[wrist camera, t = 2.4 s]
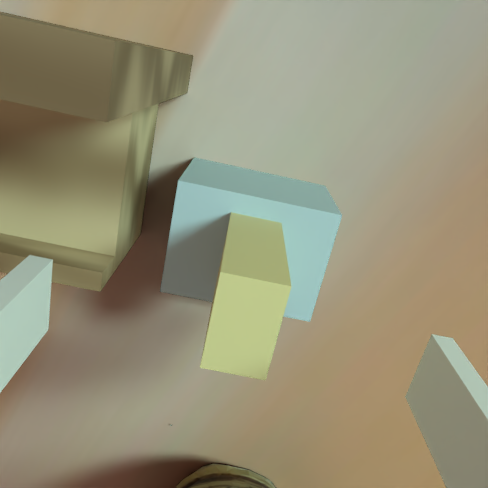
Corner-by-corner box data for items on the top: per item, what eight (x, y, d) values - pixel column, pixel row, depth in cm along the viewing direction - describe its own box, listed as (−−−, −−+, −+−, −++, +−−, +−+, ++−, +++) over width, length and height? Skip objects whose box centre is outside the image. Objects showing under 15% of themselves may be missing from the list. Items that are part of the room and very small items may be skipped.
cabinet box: (300, 274, 30) (329, 414, 18) (178, 249, 30) (123, 375, 17) (325, 185, 28) (377, 276, 16) (194, 157, 27) (144, 228, 15)
